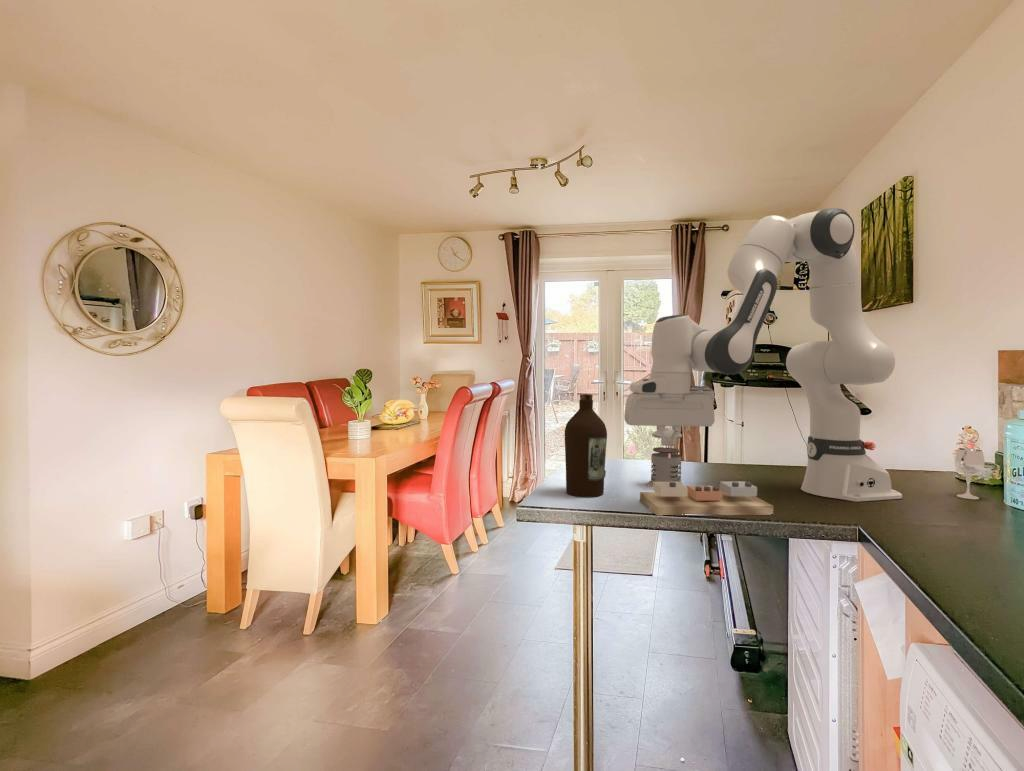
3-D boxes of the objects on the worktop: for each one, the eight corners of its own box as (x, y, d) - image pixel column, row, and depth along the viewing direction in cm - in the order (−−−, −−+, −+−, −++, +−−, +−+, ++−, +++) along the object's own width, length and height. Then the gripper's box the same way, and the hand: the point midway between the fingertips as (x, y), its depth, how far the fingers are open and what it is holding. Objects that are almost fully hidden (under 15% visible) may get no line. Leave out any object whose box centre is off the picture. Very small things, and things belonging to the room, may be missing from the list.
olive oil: (555, 492, 141) (556, 394, 140) (581, 486, 148) (583, 392, 147) (588, 500, 133) (589, 396, 132) (614, 493, 141) (616, 394, 139)
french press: (642, 486, 148) (644, 393, 147) (653, 478, 158) (655, 390, 157) (680, 491, 143) (683, 394, 142) (689, 482, 154) (691, 392, 152)
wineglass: (983, 497, 140) (985, 449, 139) (981, 501, 136) (984, 452, 135) (954, 493, 144) (956, 447, 143) (952, 497, 140) (954, 449, 139)
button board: (745, 499, 135) (745, 491, 135) (773, 514, 122) (773, 505, 122) (639, 500, 134) (640, 492, 134) (656, 515, 121) (656, 506, 121)
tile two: (744, 489, 131) (744, 478, 131) (756, 496, 125) (757, 483, 125) (719, 489, 131) (719, 478, 131) (730, 496, 125) (731, 483, 125)
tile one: (677, 490, 131) (678, 478, 130) (687, 496, 125) (687, 484, 124) (652, 490, 130) (653, 478, 130) (661, 496, 124) (661, 484, 124)
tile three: (711, 493, 131) (711, 482, 131) (722, 500, 125) (722, 488, 125) (686, 493, 131) (686, 482, 131) (696, 500, 125) (696, 488, 125)
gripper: (709, 385, 131) (707, 443, 132) (623, 384, 130) (621, 442, 131) (720, 386, 125) (718, 448, 125) (630, 385, 124) (628, 447, 124)
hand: (668, 445), depth 128 cm, fingers closed
